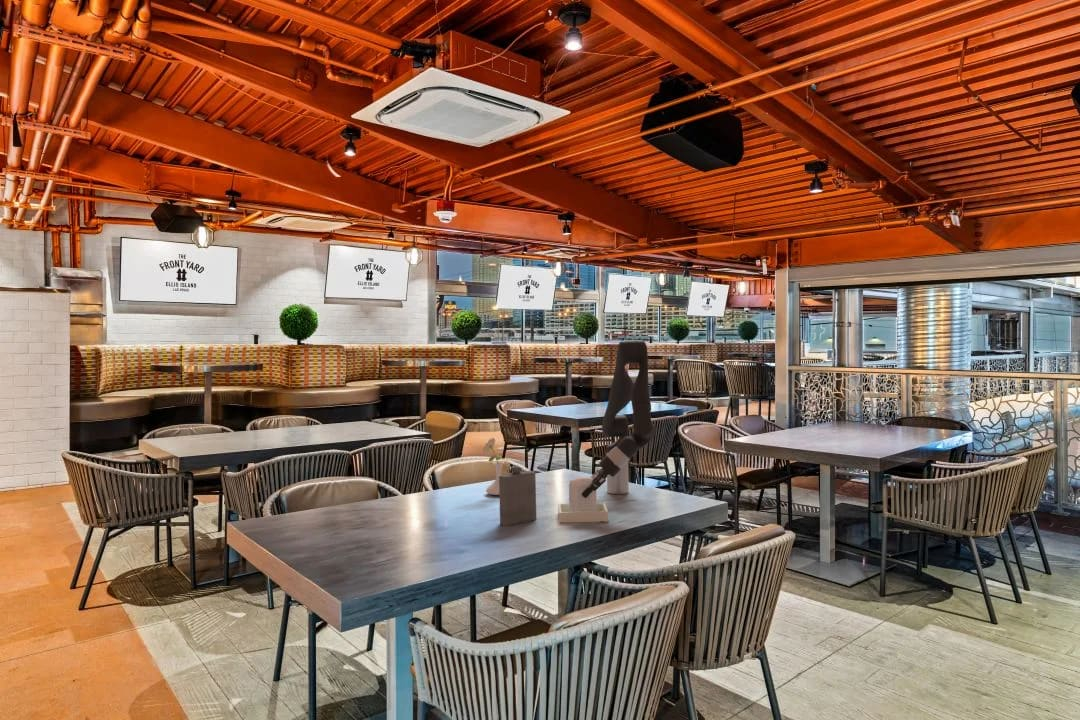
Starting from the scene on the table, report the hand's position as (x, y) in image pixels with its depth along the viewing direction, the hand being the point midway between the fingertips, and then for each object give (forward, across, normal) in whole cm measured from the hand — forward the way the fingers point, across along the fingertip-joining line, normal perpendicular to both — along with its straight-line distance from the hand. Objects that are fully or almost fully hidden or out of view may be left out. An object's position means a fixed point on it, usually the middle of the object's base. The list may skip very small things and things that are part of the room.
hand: (583, 494), depth 243 cm
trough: (+6, 0, +6) cm, 8 cm away
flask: (+23, +4, -11) cm, 26 cm away
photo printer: (+4, 0, +4) cm, 6 cm away
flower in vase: (+30, -41, -18) cm, 54 cm away
